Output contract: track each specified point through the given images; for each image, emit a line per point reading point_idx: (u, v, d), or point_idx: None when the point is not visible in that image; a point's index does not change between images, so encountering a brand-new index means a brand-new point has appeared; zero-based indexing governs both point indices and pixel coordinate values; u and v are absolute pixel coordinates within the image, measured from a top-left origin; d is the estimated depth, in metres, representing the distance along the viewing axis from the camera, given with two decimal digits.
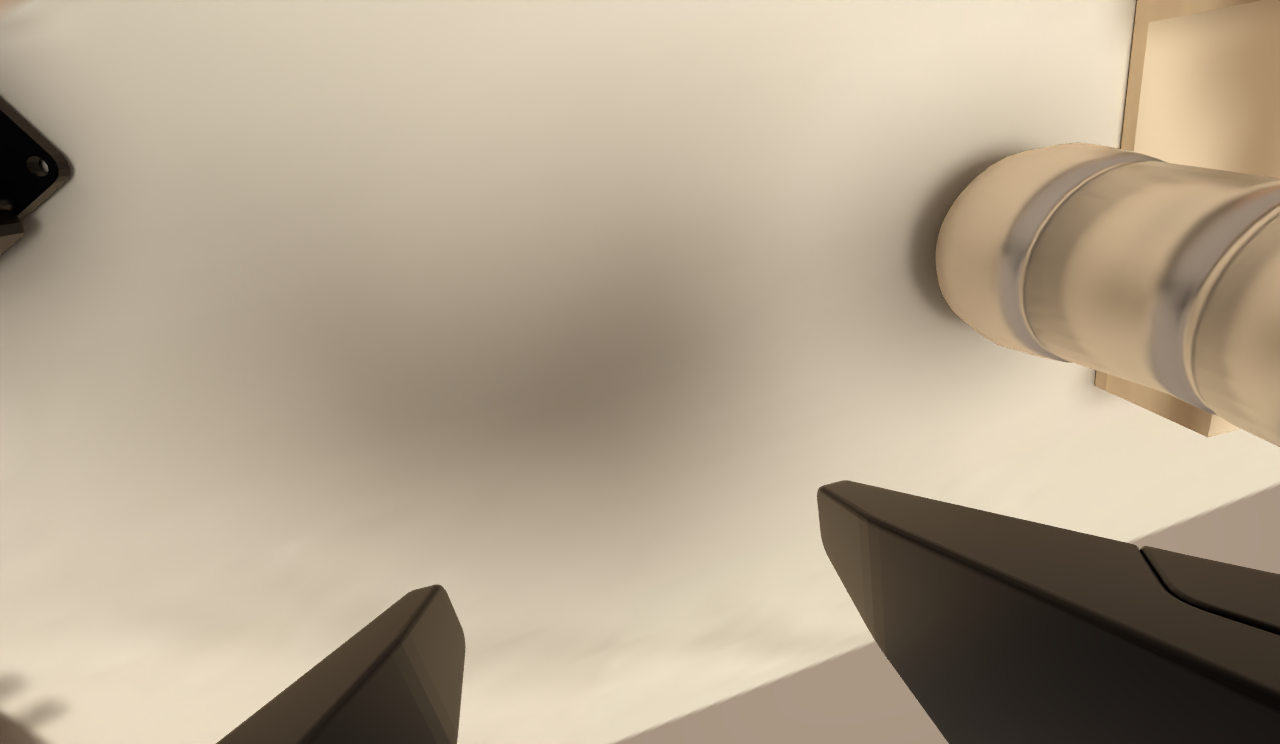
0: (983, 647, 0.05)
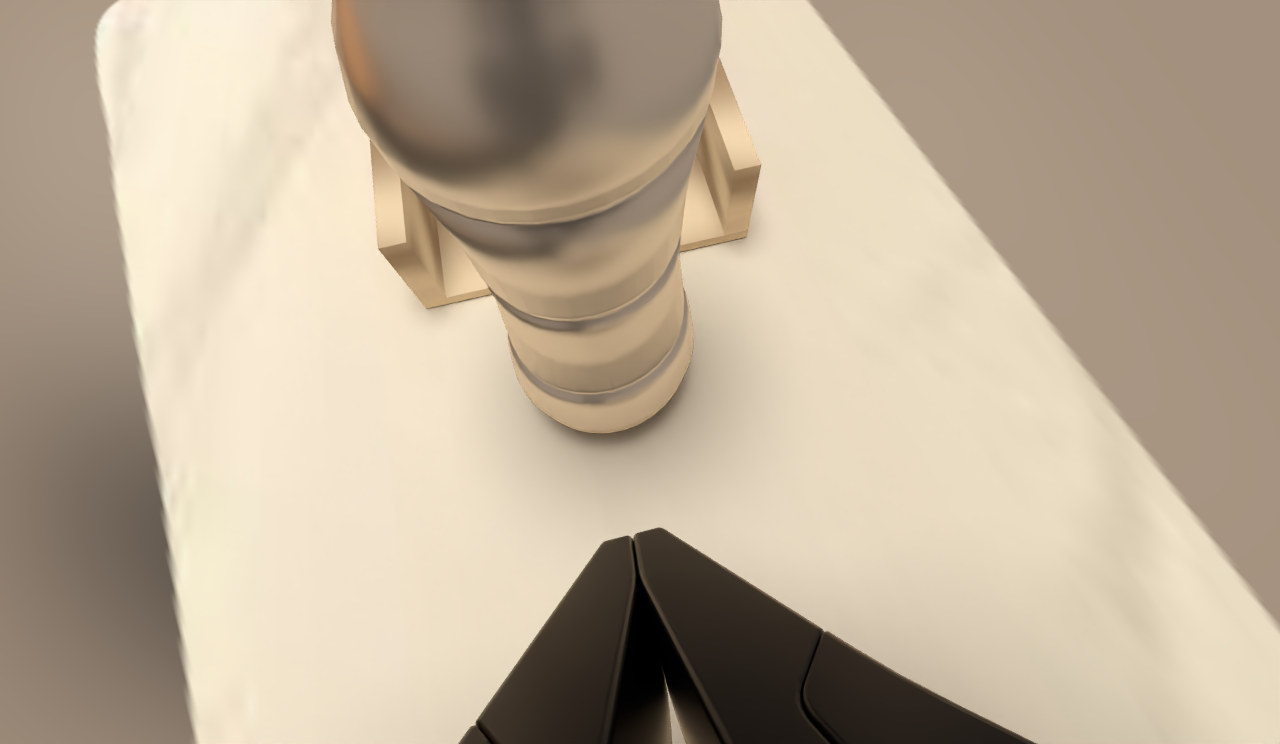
0: (694, 726, 0.05)
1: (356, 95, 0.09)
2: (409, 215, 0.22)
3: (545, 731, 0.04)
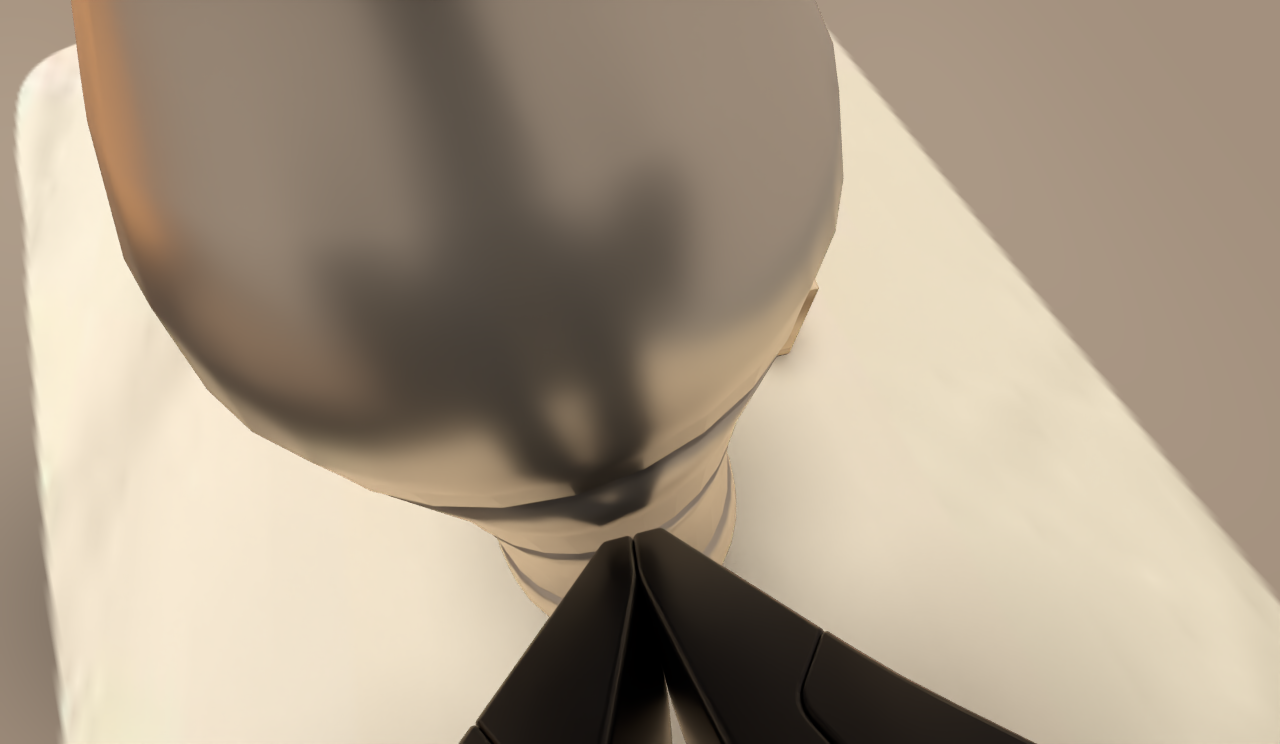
0: (694, 726, 0.05)
1: None
2: None
3: (545, 731, 0.04)
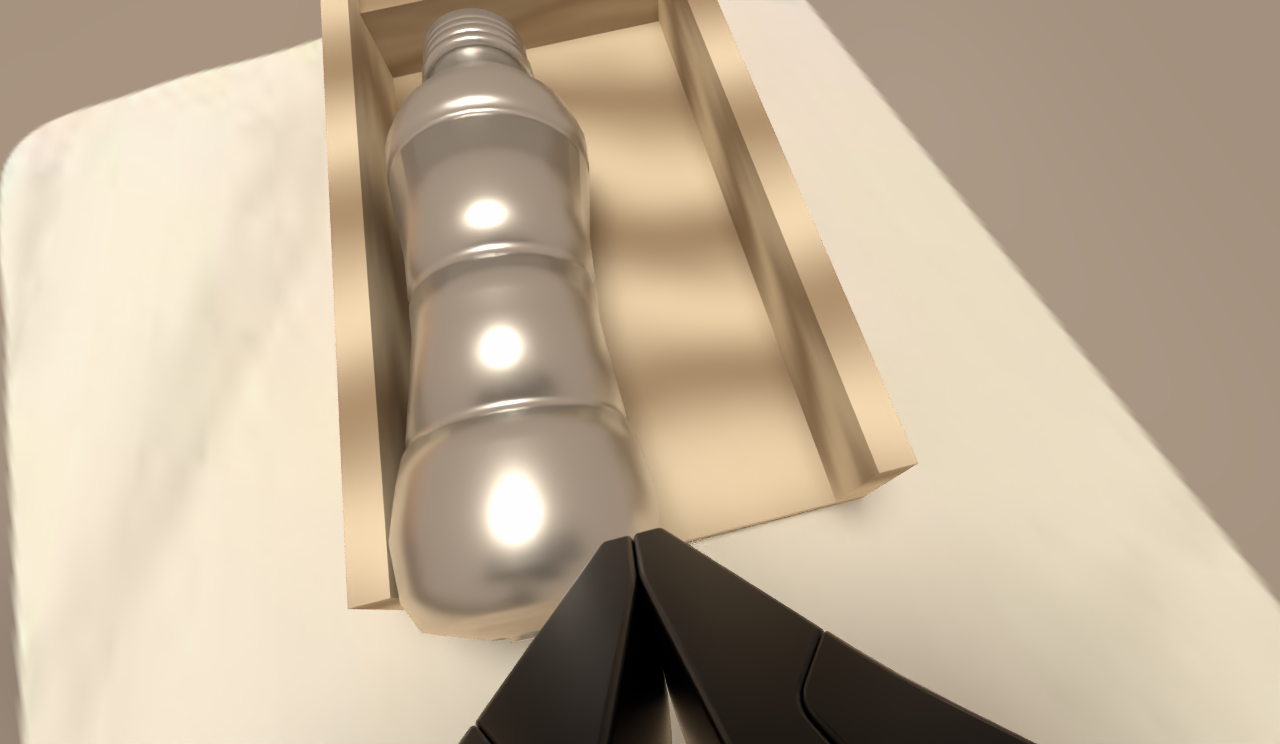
0: (694, 726, 0.05)
1: None
2: None
3: (545, 731, 0.04)
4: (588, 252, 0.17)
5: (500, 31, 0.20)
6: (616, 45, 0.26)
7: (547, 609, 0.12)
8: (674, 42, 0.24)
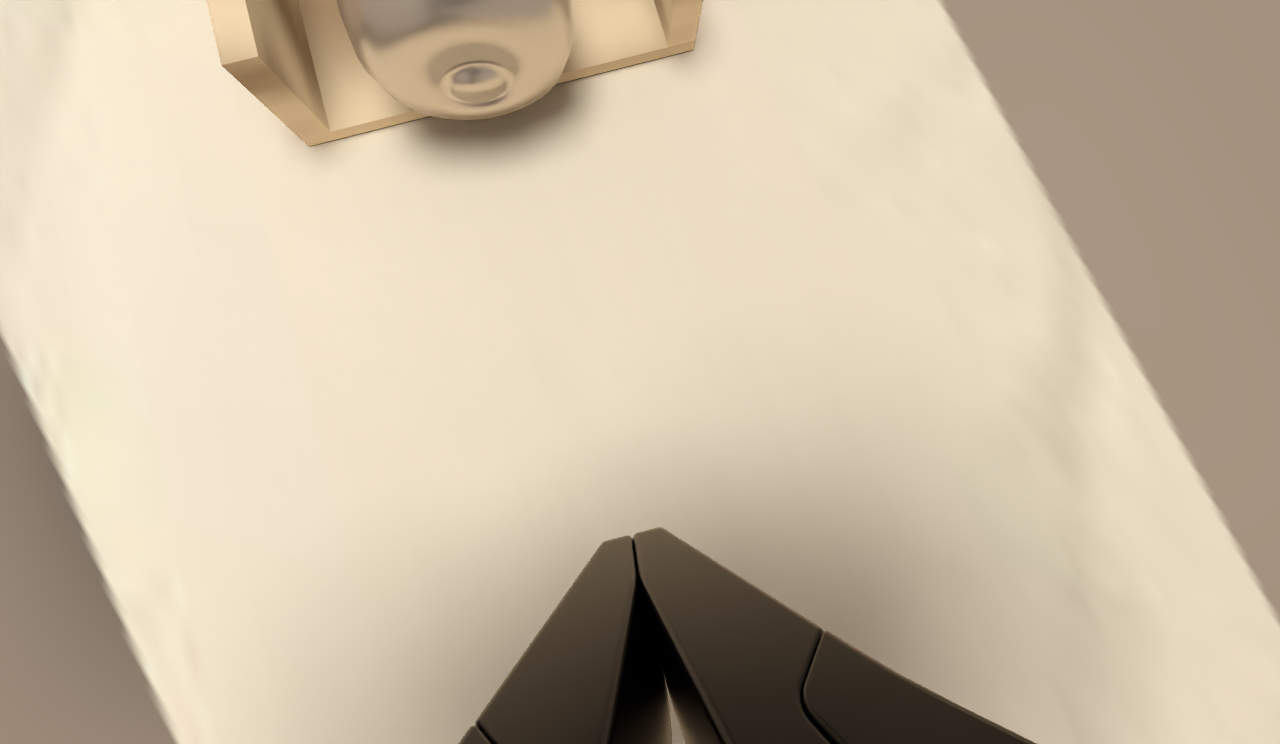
0: (694, 725, 0.05)
1: None
2: (259, 17, 0.17)
3: (545, 731, 0.04)
4: None
5: None
6: None
7: (530, 35, 0.16)
8: None
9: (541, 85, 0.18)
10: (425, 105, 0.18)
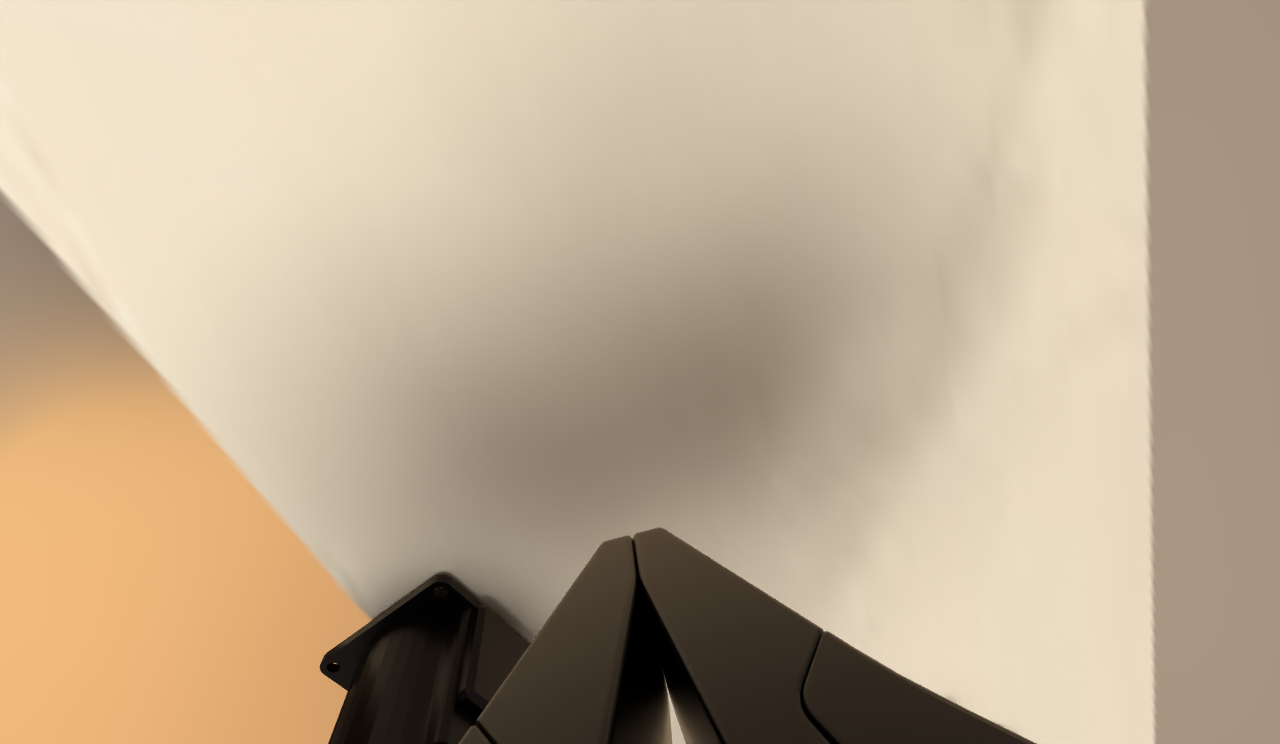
0: (694, 725, 0.05)
1: None
2: None
3: (545, 731, 0.04)
4: None
5: None
6: None
7: None
8: None
9: None
10: None
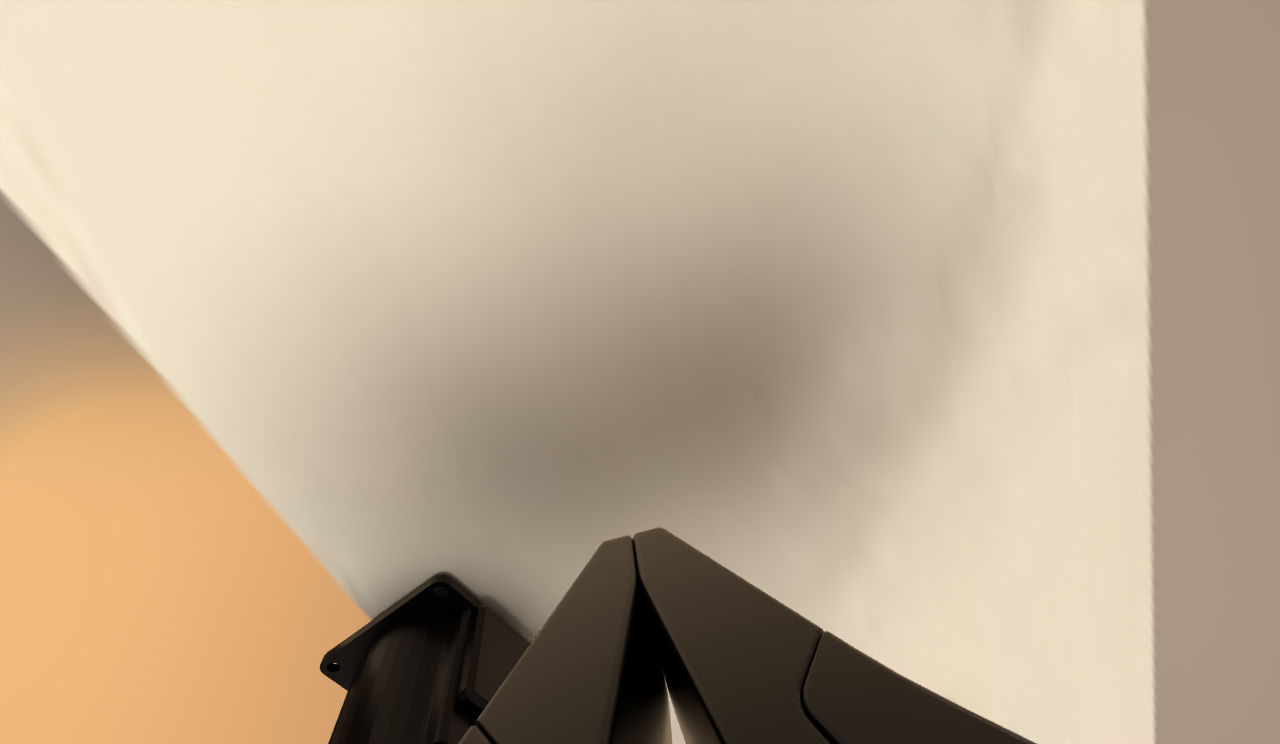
0: (694, 725, 0.05)
1: None
2: None
3: (545, 731, 0.04)
4: None
5: None
6: None
7: None
8: None
9: None
10: None
